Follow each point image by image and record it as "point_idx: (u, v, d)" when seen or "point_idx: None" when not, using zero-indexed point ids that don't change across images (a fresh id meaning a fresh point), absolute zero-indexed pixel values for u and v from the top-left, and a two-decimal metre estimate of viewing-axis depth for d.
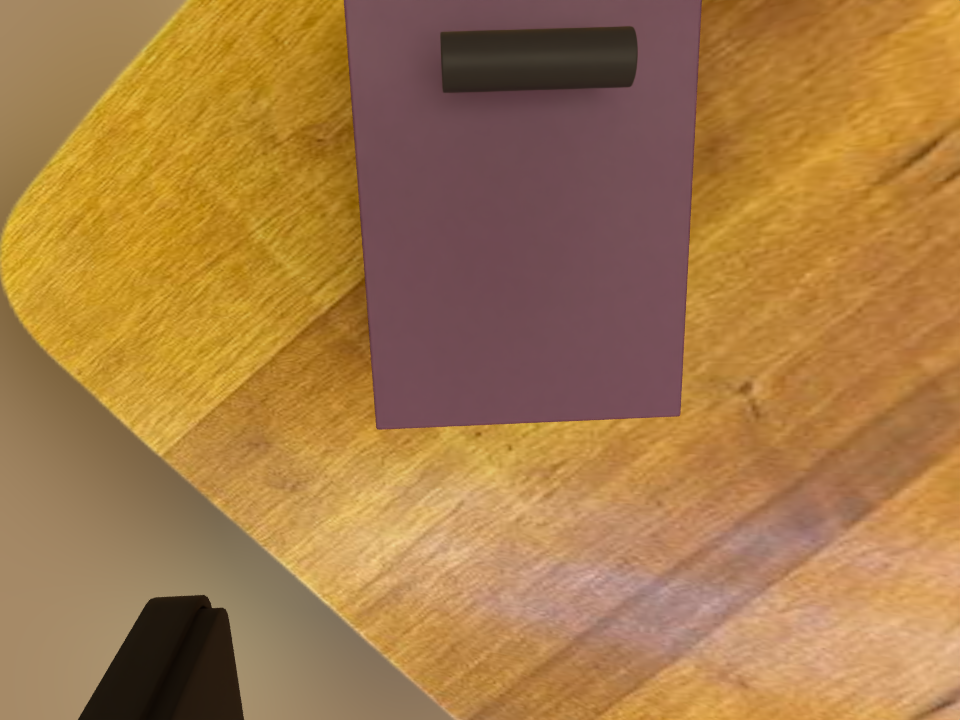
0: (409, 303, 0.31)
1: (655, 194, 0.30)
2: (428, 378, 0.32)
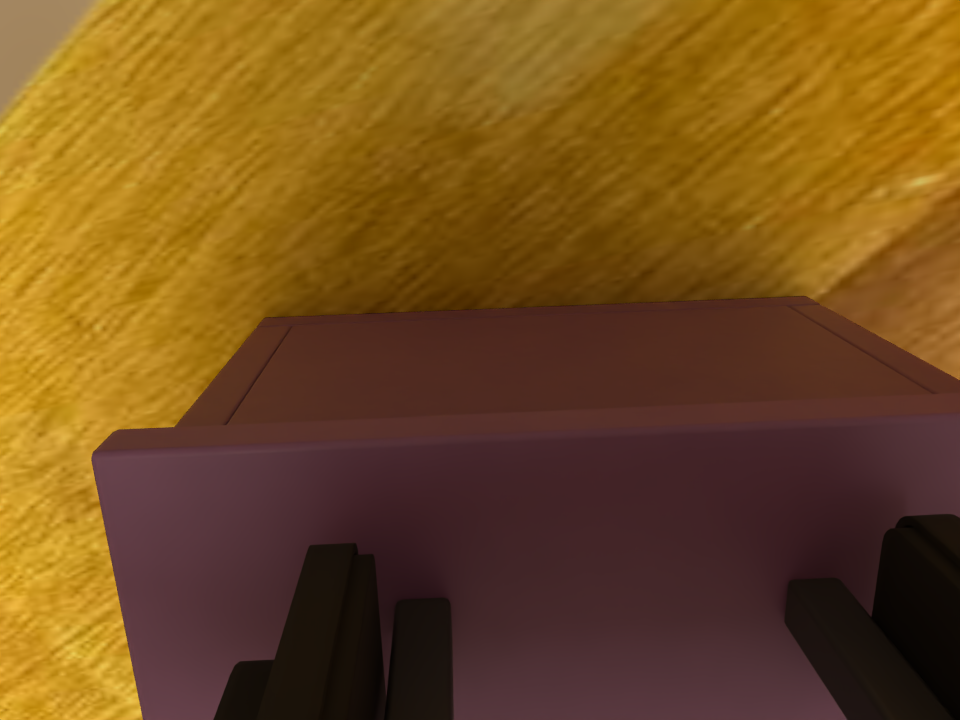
0: None
1: None
2: None
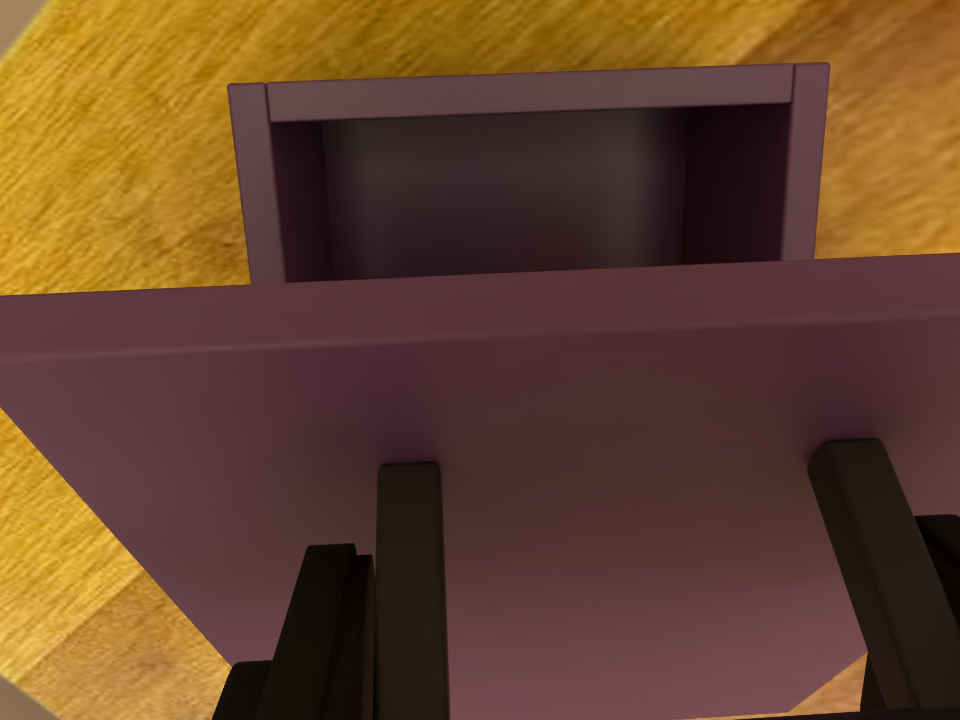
0: None
1: None
2: None
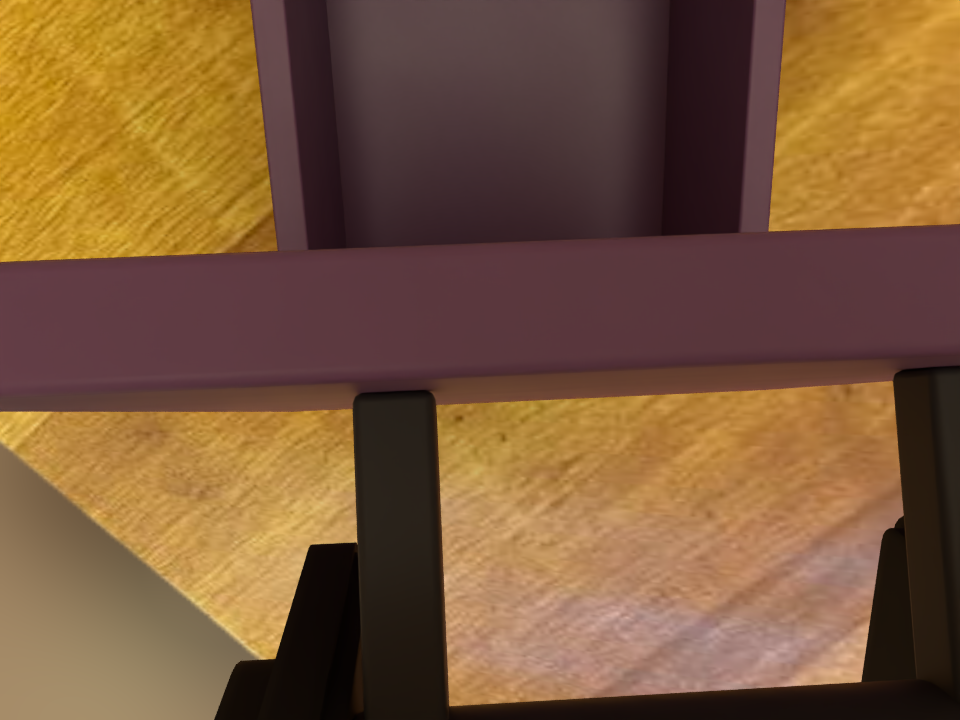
0: None
1: None
2: None
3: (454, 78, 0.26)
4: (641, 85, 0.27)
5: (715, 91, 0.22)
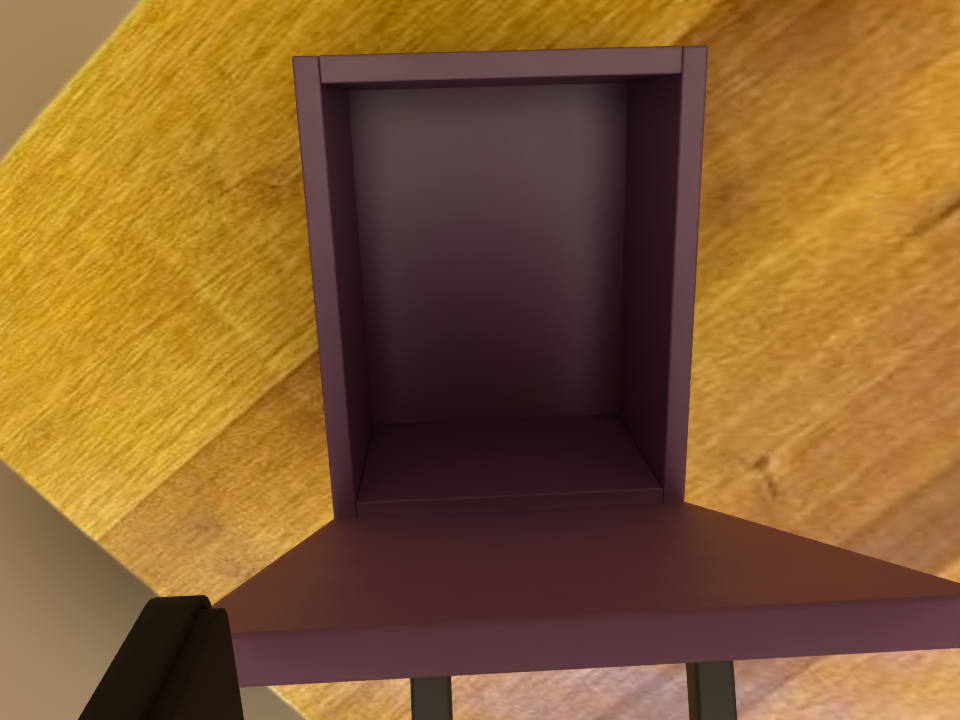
0: None
1: None
2: None
3: (456, 260, 0.33)
4: (602, 264, 0.34)
5: (652, 297, 0.29)
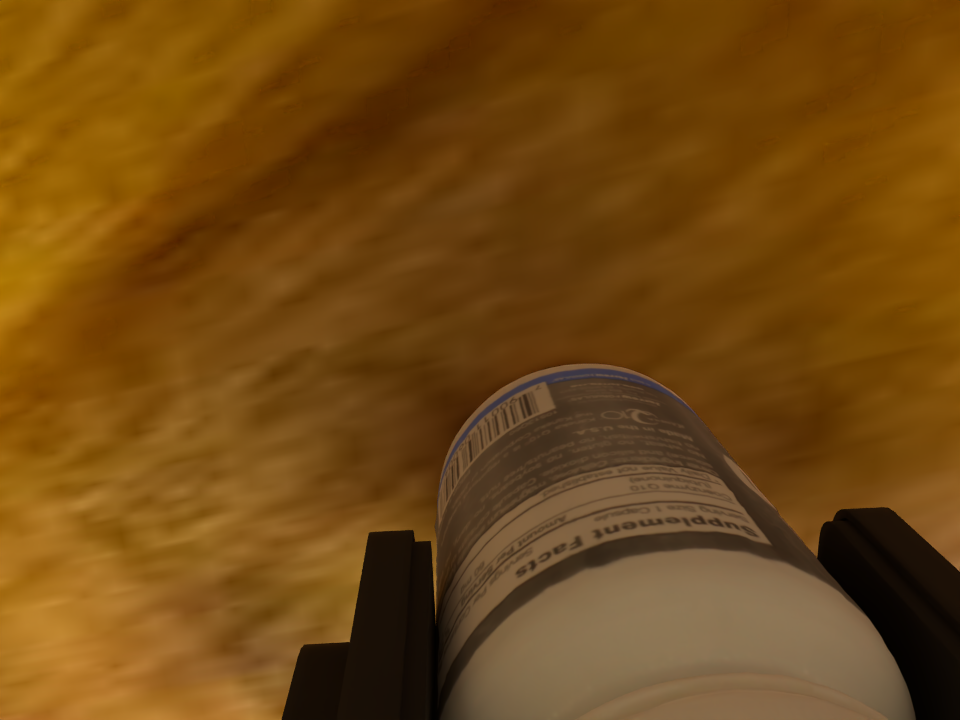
0: None
1: None
2: None
3: None
4: None
5: None
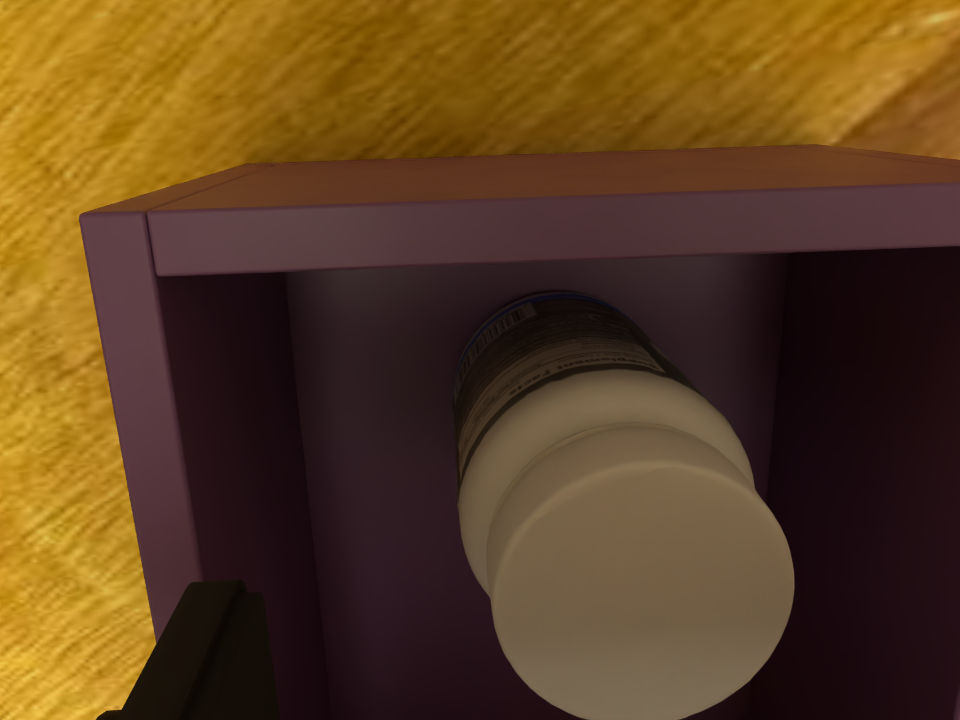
0: None
1: None
2: None
3: None
4: None
5: (871, 633, 0.15)
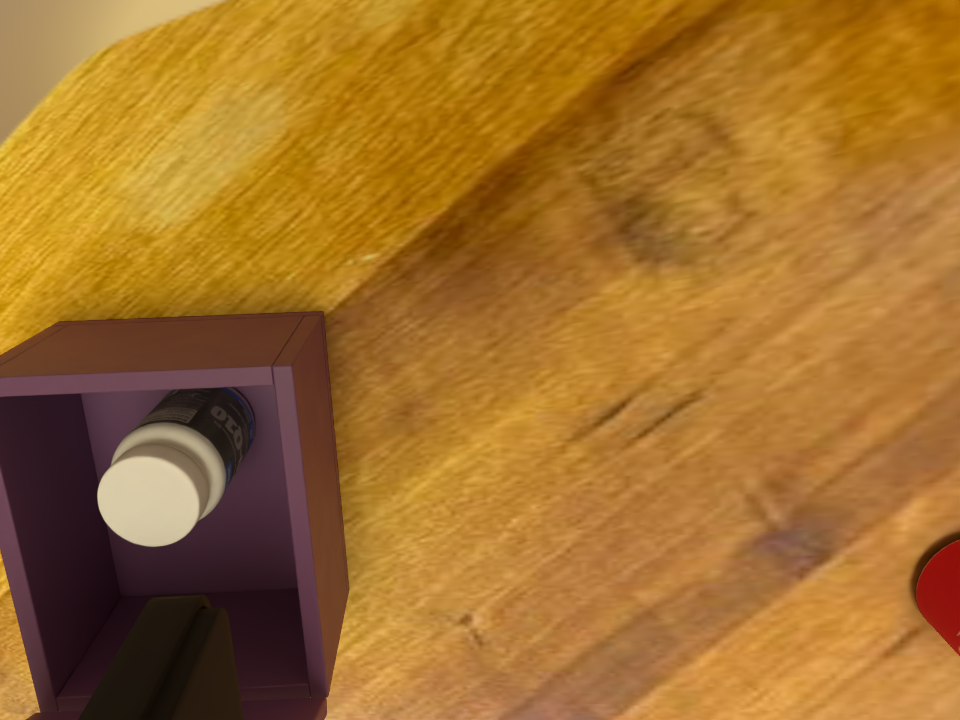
0: None
1: None
2: None
3: None
4: None
5: None
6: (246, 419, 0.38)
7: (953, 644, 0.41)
